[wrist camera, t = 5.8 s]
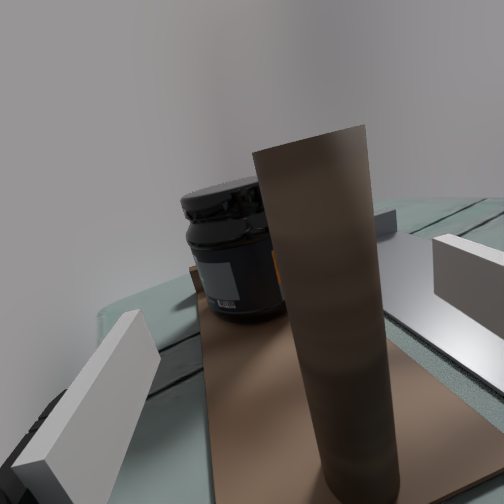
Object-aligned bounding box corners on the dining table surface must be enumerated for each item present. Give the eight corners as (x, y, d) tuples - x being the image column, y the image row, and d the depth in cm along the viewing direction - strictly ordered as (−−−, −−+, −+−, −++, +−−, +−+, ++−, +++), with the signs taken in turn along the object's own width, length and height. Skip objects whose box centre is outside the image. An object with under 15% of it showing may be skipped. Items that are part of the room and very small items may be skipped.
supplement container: (327, 279, 30) (308, 164, 26) (276, 340, 22) (239, 191, 19) (249, 273, 37) (225, 180, 33) (190, 319, 29) (149, 205, 25)
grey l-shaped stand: (776, 340, 14) (926, -16, 9) (566, 441, 12) (629, 58, 8) (389, 230, 40) (380, 123, 36) (305, 256, 38) (284, 147, 34)
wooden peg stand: (528, 460, 12) (571, 72, 7) (226, 605, 10) (33, 205, 5) (291, 261, 38) (268, 151, 34) (197, 290, 36) (159, 178, 32)
